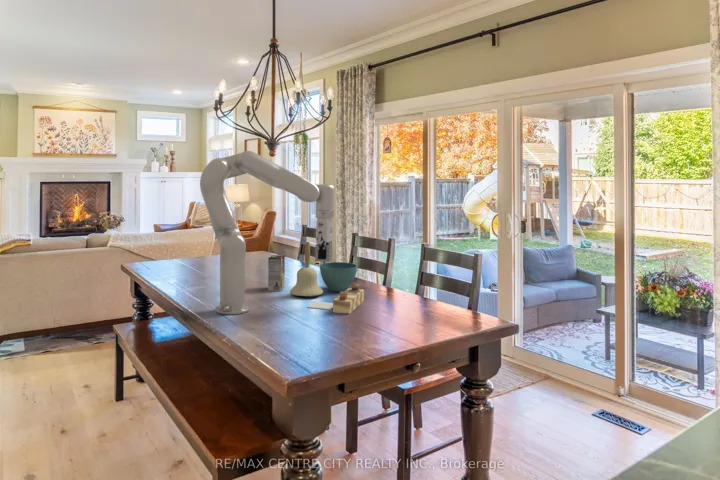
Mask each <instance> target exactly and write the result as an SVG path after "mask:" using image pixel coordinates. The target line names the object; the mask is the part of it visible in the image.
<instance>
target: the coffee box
mask: <svg viewBox="0 0 720 480" xmlns="http://www.w3.org/2000/svg"><path fill="white" fill-rule="evenodd" d="M285 260H286V257H285V255H284V254H283V255H281V254H279V255H277V254H275V255H274V254H272V255H270V256H269V257H268V262H267V264H268V265H267V266H268V267H267V271H268V272H267V273H268V275H267V276H268V277H267V282H268V286H267V291H268V292H282V291H283V290H284V288H285V267H286V266H285V265H286V264H285Z"/></svg>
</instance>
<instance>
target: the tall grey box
mask: <svg viewBox="0 0 720 480" xmlns="http://www.w3.org/2000/svg"><path fill="white" fill-rule="evenodd" d="M325 250H326V259H318V244H317V243H315V250H314V251H315V255H314V256H315V258H314V261H315V262H321V263H322V262H323V263H329V262H333V244H332V243H330V244H326V245H325Z"/></svg>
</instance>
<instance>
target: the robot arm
mask: <svg viewBox="0 0 720 480" xmlns="http://www.w3.org/2000/svg"><path fill="white" fill-rule="evenodd" d="M245 174H248V175H250V176H252V177H253V178H256V179H257V180H259V181H261V182H263V183H265V184H267V185H269V186H271V187H273V188H275V189H279V190H282V191H286V192H287V193H289V194H292V195H294V196H296V197H297V198H298V200H299V201H302V202H306V203H314V202H315V219H316V227H315V241H316V244H318V259H326V250H325V245H326V244H331V242H333V241H334V218H335V216H334V215H335V186H334V185H332V184H328V183H327V184H326V183H325V184H322V183H321V184H320V183H319V184H314V183H313V182H312V181H309V180H307V179H306V178H303V177H302V176H300V175H298V174H296V173H294V172H292V171H291V170H288V169H286V168H285V167H282V166H281V165H279V164H277V163H275V162H274V161H271V160H269V159H267V158H266V157H264V156H262V155H260V154H258V153H256V152H254V151H252V150H243V152H242V151H241V152H240V153H237V154H233V155H228V156H225V157H224V156H223V157H216V158H213V159H211V160H210V162H209V163H207V165H206V166H205V167H204V169H203V170H202V172H201V174H200V175H201V176H200V178H199V179H200V180H199V187H200V188H199V189H200V192H201V195H202V196H201V197H202V198H203V202H204V205H205V207H206V210H207V212H208V219H209V222H210V224H211V227H212V230H213V232H214V234H215V237H216V240H217V241H218V245H219V294H220V295H219V305H217V306H215V308H214V309H215V312H216V313H218V314H221V315H240V314H244V313H248V311H250V309H249V306H248V305H246V251H247V247H246V246H247V245H246V239H245V238H244V236H243V235H242V233H241V231H240V228H239V226H238V222H237V220H236V217H235V212H234V210H233V209H232V207H231V204H230V202H229V199H228V196H227V193H226V191H225V187H224V185H225V184H224V183H225V180H227V179H231V178H235V177H239V176H243V175H245Z"/></svg>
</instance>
